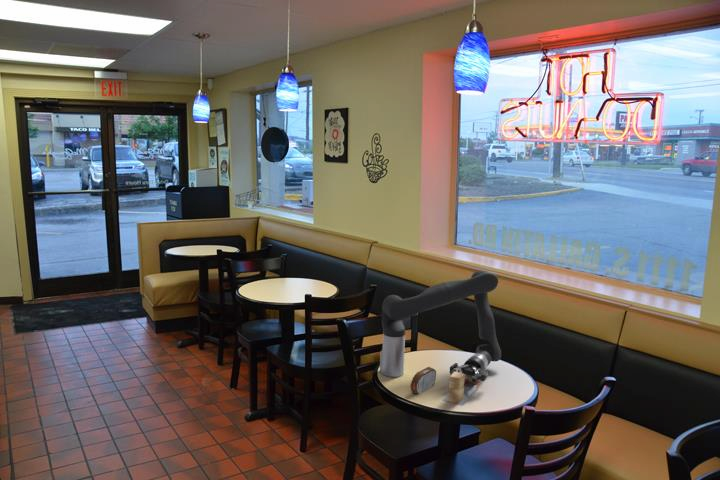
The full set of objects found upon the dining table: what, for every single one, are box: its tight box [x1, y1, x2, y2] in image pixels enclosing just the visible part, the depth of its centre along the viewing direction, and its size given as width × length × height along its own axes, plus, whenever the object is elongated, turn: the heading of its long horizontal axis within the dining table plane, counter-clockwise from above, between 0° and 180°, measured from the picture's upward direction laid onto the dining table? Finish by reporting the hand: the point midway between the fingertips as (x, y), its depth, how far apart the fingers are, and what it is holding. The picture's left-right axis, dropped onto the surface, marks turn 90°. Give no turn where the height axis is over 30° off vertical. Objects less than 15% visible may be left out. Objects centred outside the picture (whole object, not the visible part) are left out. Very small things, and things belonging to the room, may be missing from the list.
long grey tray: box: [442, 376, 482, 407], centre depth 213 cm, size 8×23×2 cm, turn 149°
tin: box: [410, 366, 437, 395], centre depth 214 cm, size 15×3×8 cm, turn 141°
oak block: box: [448, 371, 466, 405], centre depth 205 cm, size 4×5×10 cm
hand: (462, 378), depth 210 cm, fingers open, 8 cm apart
